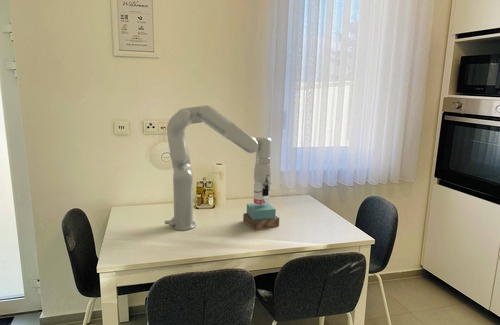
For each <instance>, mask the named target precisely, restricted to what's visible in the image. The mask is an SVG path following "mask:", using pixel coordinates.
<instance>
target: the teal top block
mask: <svg viewBox="0 0 500 325" xmlns="http://www.w3.org/2000/svg"><path fill="white" fill-rule="evenodd" d="M246 213H247V214H248V215H249V216H250V217H251V218H252V219H253V220H262V219H274V218H275V216H276V213H277V212H276V208H275V207H274V206H272V205H271V204H270V203H269V202H267V203H264V204H262V205H260V204H255V203H246Z"/></svg>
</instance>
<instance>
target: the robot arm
mask: <svg viewBox="0 0 500 325" xmlns="http://www.w3.org/2000/svg"><path fill="white" fill-rule="evenodd" d="M201 123H204V124H205V125H206V126H208V127H210V128H211V129H212V130H214V131H215V132H217V133H218V134H220V135H221V136H223V137H224V138H225V139H227V140H229V141H230V142H231V143H233V144H235V145H236V146H238V147H239V148H240V149H242V150H243V151H244V152H246V153H247V154H253V153H255V164H254V171H253V180H254V182H255V181H258V182H260V183H262V184H263V187H264V189H263V196H268V193H269V187H270V188H271V185H272V182H271V152H272V150H271V149H272V138H270V137H268V136H259V137H257V136H251V135H250V134H249V133H247V132H245V130H242V129H241V128H240V127H239V126H237V124H235V122H233V121H232V120H230V119H229V118H227V117H226V116H225V115H223V114H222V113H221V112H219V111H218V110H217V109H215V108H214V107H212V106H210V105H200V106H193V107H184V108H180V109H179V110H177V112H175V113H174V114H173V115H172V116H171V118H170V119H169V120H168V122H167V126H166V136H167V141H168V142H167V143H168V149H169V157H170V159H171V163H172V164H171V165H172V168H173V173H172V174H173V175H172V184H173V188H172V189H173V217H172V218H171V219H170V220H165V221H164V225H166V226H167V225H168V226H170V227H171V228H172V229H173V230H176V231H189V230H192V229H194V228H195V227H196V226H197V223H196V222H195V221H194V217H193V211H194V209H193V208H194V206H193V203H194V201H193V200H194V199H193V197H194V196H193V186H194V185H193V184H194V178H193V177H194V174H193V170H192V169H193V168H192V164H191V157H190V151H189V148H188V146H187V141H186V134H185V130H186V128H187V127H189V126H190V125H192V124H201ZM265 182H266V183H265ZM265 184H267V185H266V186H265Z"/></svg>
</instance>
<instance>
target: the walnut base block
mask: <svg viewBox="0 0 500 325" xmlns="http://www.w3.org/2000/svg"><path fill="white" fill-rule="evenodd" d="M242 216H243V219H242V222H243V223H245V224H246V225H248V226H249V227H250V228H252V229H254V230H255V231H258V230H264V229H270V228H276V227H279V226H280V217H278V216H276V215H275V218H274V219H262V220H253V219H252V218H251V217H250V216H249V215H248V214H247V212H245V213H243V215H242Z"/></svg>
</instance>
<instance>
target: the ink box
mask: <svg viewBox="0 0 500 325" xmlns="http://www.w3.org/2000/svg"><path fill="white" fill-rule="evenodd" d="M265 183H266V182H265ZM266 185H267V184H265V186H266ZM263 189H264V187H263V184H262V183H260V182H258V181H255V180H254V182H253V204H260V205H262V204H264V203H269V202H270V198H271V186H270V187H269V193H268V196H263Z"/></svg>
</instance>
